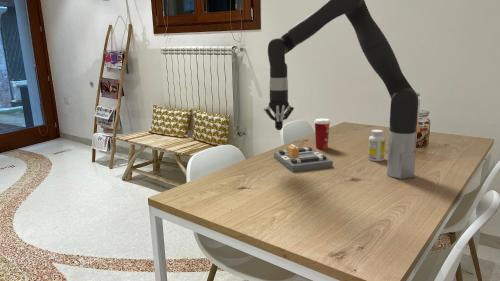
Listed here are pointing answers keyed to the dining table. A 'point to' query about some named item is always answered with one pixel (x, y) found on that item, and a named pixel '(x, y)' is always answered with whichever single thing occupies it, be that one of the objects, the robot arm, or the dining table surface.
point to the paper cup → (322, 133)
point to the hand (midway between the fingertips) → (278, 129)
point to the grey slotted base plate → (305, 159)
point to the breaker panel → (304, 165)
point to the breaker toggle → (293, 151)
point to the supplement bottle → (376, 146)
